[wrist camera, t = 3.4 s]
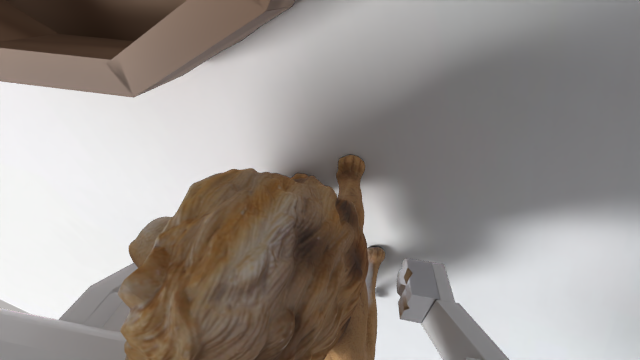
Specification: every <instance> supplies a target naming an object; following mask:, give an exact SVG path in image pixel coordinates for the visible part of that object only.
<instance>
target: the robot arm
mask: <svg viewBox="0 0 640 360" xmlns="http://www.w3.org/2000/svg"><path fill="white" fill-rule="evenodd" d="M136 269H138V267H137V266H136V265H135V263H133V264H131V265H129V266H127V267H125V268H123V269H121V270H120V271H118V272H116V273H114V274H112V275H110V276H108V277H107V278H105V279H103V280H101V281H99V282H97V283H95V284H94V285H92V286H90V287H89V288H88V289H87V290H86V291H85V292H84V293H83V294H82V295H81V297H80V298H79V299H78V300H77V301H76V302H75V303H74V304H73V305H72V306H71V307H70V308H69V309H68V310H67V311H66V312H65V313H64V314H63V315H62V317H61V318H60V319H59V320H57V319H52V318H47V317H42V316H37V315H32V314H27V313H21V312H17V311H11V310H7V309H2V308H0V360H125V358H126V353H125V352H124V344H125V342H126V341H127V340H126V339H125V337H124V336H123V335H122V333H121V332H120V329H121V327H122V325H123V324H124V322H125V321H126V318H127V316H128V314H129V312H130V308H129V307H128V306H127V305H126V304H125V303H124V302H123V300H122V299H121V298H120V297H119V296H118V291H119V289H120V287H121V285H122V283H123V281H124V279H126V278H127V277H128V276H129V275H130V274H131V273H133V272H134V271H135V270H136ZM397 293H398V294H399V295H400V297H401V298H400V300H399V302H398V305H399V315H400V319H402V320H407V321H412V322H417V323H422V324H421V325H422V326H423V328H424V330H425V331H426V333H427V335H428V336H429V338H430V339H431V341H432V343H433V344H434V346H435V347H436V349H437V351H438V352H439V354H440V356H441V357H442V359H443V360H509V359H508V358H507V356H506V355H505V354H504V353H503V352H502V351H501V350H500V349H499V347H498V346H497V345H496V344H495V343H494V342H493V341H492V340H491V339H490V337H489V336H488V335H487V334H486V333H485V332H484V331H483V330H482V328H481V327H480V326H479V325H478V324H477V323H476V322H475V321H474V319H473V318H472V317H471V316H470V315H469V314H468V313H467V312H466V310H465V309H464V308H463V307H462V306H461V305H460V304H459V303H455V300H454V296H453V293H452V289H451V286H450V282H449V279H448V275H447V272H446V269H445V266H444V265H443V264H440V263H434V262H429V261H422V260H415V259H408V258H405V259H404V260H403V262H402V269H400V270H399V272H398V276H397Z"/></svg>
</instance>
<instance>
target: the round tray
mask: <svg viewBox="0 0 640 360" xmlns="http://www.w3.org/2000/svg"><path fill="white" fill-rule="evenodd" d="M294 2H295V0H0V81H2V82H11V83H19V84H27V85H35V86H44V87H52V88H60V89H69V90H77V91H85V92H93V93H102V94H110V95H118V96H127V97H136V96H138V95H140V94H142V93H145V92H147V91H149V90H151V89H154V88H156V87H158V86H160V85H163V84H165V83H167V82H169V81H171V80H174V79H176V78H178V77H180V76H183V75H184V74H186V73H188V72H189V71H191V70H192V69H194V68H195V67H197V66H199V65H200V64H202V63H203V62H205V61H207V60H208V59H210V58H211V57H213V56H214V55H216V54H218V53H219V52H221V51H223V50H224V49H226V48H228V47H230V46H232V45H234V44H236V43H238V42H240V41H242V40H243V39H244V38H246V37H247V36H248V35H250V34H251V33H252V32H254V31H255V30H256V29H258V28H259V27H260V26H262V25H263V24H265V23H267V22H268V21H270V20H271V19H273V18H275V17H276V16H278V15H279V14H281V13H282V12H284V11H286V10H287V9H289V8H290V7H292V6H293V4H294Z"/></svg>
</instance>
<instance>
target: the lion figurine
mask: <svg viewBox="0 0 640 360" xmlns="http://www.w3.org/2000/svg"><path fill="white" fill-rule="evenodd" d="M364 170H365V164H364V161H363V160H361V159H360V158H359V157H358V156H355V155H347V156H345V157H342V158H340V159H339V161H338V172H337V174H336V178H337V181H338V184H339V195H338V198H337V195H336V193H335V191H334V190H333V189H332V188H331V187H329V186H325V185H323V184H322V183H321V182H320V181H319V180H317V179H316V178H315V176H308V175H306V174H301V173H297V174H295V175H294V176H293V177H292V178H289V177H287V176H283V175H281V174H278V173H269V172H264V173H259V172H257V171H255V170H254V169H252V168H249V169H244V170H237V169H231V170H229V171H227V172H224V173H218V174H215V175H212V176H210V177H208V178H205V179H203V180H201V181H199V182H196V183H194V184H192V185H191V186H190V188H189V190H188V192H187V194H186V196H185V198H184V200H183V202H182V203H181V205H180V207H179V209H178V211H177V212H176V214H175V215H174V216H173V217H161V218H157V219H155V220H153V221H151V222H150V223H149V224H148V225H147V226H146V227H145V228H144V229H143V230H142V231H141V232H140V234H139V235H138V237H137V238H136V239H135V240H134V241H133V242H131V244H130V245H129V254H130V256H131V258H132V260H133V262H134V263H135V265H136V266H137V267H138V269H136V270H135V271H134V272H133V273H131V274H130V275H129V276H128V277H127V278H126V279H124V281H123V283H122V285H121V287H120V289H119V291H118V296H119V297H120V298H121V299H122V300H123V302H124V303H125V304H126V305H127V306H128V307H129V308H130V312H129V314H128V316H127V318H126V321H125V322H124V324H123V325H122V327H121V329H120V332H121V333H122V335H123V336H124V337H125V339H126V340H127V341H126V342H125V344H124V352H125V353H126V358H125V360H374V357H375V344H376V336H377V307H376V299H375V287H376V279H377V273H378V269H379V266H380V264H381V262H382V261H383V260H384V258H385V251H384V250H383V249H381V248H380V247H369V248H367V243H366V239H365V236H364V234H363V225H364V209H363V203H362V194H361V189H360V180H361V177H362V175H363V173H364Z"/></svg>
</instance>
